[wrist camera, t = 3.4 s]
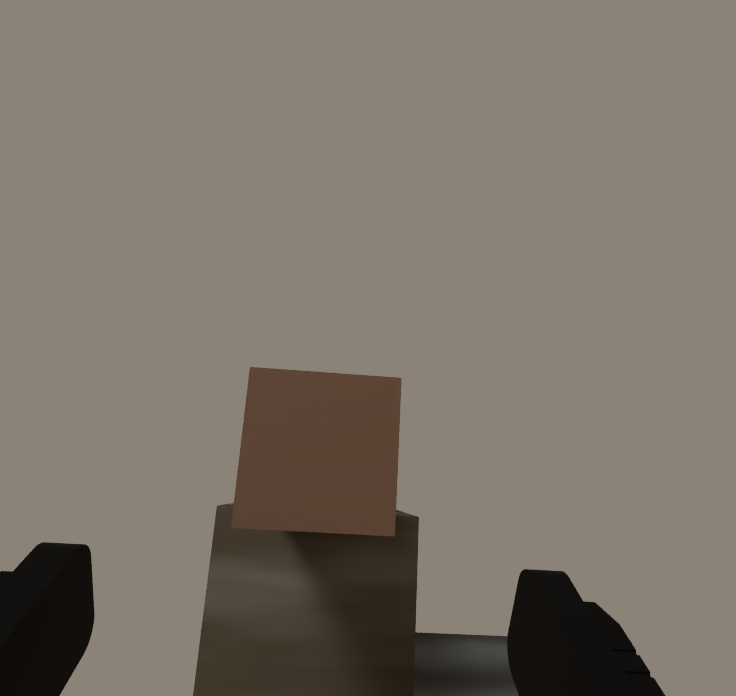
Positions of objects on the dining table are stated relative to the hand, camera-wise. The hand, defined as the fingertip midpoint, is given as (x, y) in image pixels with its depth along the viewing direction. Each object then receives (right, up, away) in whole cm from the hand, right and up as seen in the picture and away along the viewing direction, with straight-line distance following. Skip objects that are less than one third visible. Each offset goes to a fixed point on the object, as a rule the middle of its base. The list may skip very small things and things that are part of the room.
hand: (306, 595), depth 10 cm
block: (-1, -3, +14) cm, 14 cm away
